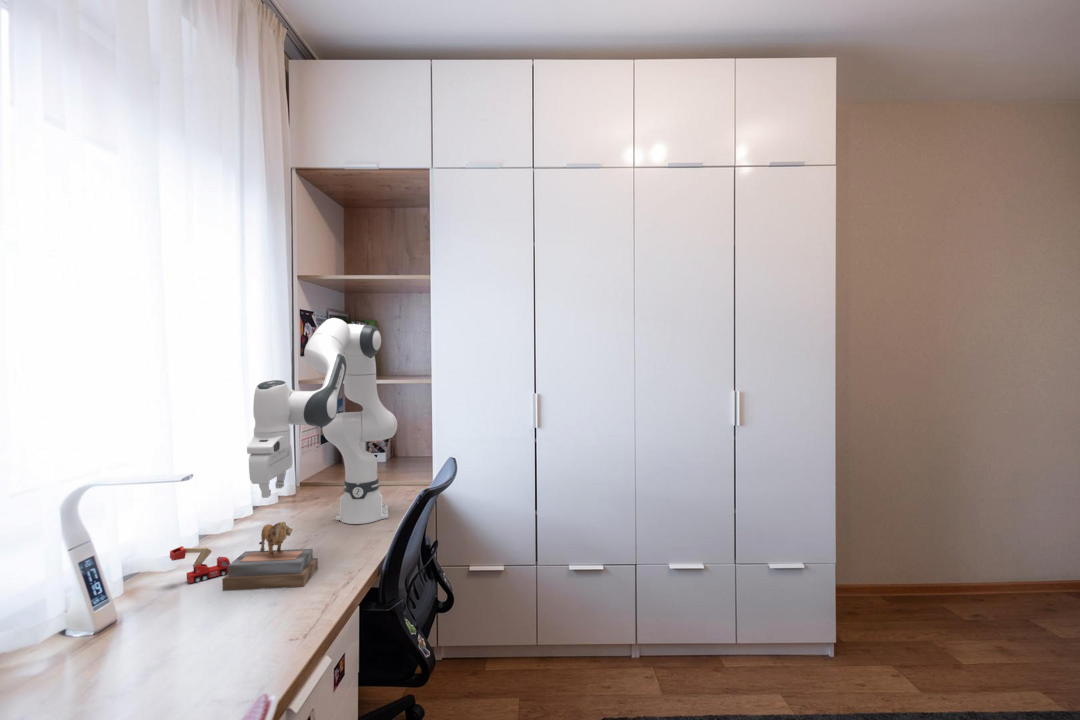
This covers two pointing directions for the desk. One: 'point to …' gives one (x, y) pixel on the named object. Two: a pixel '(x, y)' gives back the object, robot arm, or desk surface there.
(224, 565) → the toy fire truck
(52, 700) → the desk surface
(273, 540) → the lion figurine
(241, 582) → the plinth
